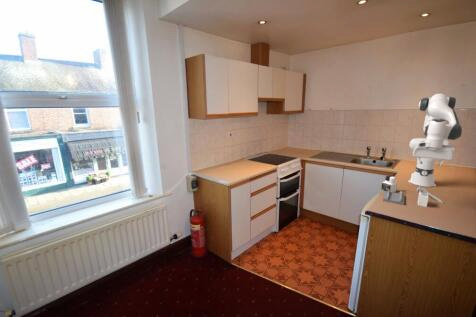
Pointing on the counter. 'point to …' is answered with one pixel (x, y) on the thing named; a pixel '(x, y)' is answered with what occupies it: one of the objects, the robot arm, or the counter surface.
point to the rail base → (393, 198)
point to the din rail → (399, 198)
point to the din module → (423, 199)
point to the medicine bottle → (389, 184)
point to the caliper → (428, 193)
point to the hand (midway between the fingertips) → (429, 164)
